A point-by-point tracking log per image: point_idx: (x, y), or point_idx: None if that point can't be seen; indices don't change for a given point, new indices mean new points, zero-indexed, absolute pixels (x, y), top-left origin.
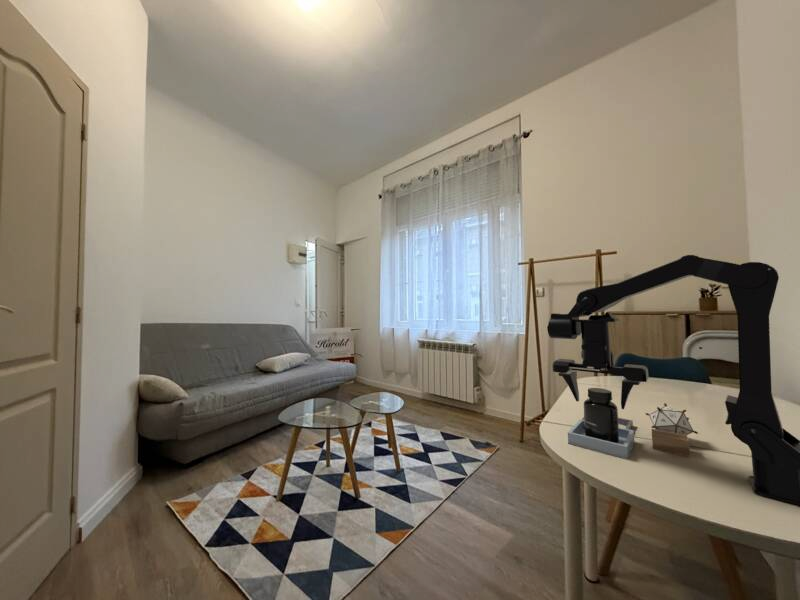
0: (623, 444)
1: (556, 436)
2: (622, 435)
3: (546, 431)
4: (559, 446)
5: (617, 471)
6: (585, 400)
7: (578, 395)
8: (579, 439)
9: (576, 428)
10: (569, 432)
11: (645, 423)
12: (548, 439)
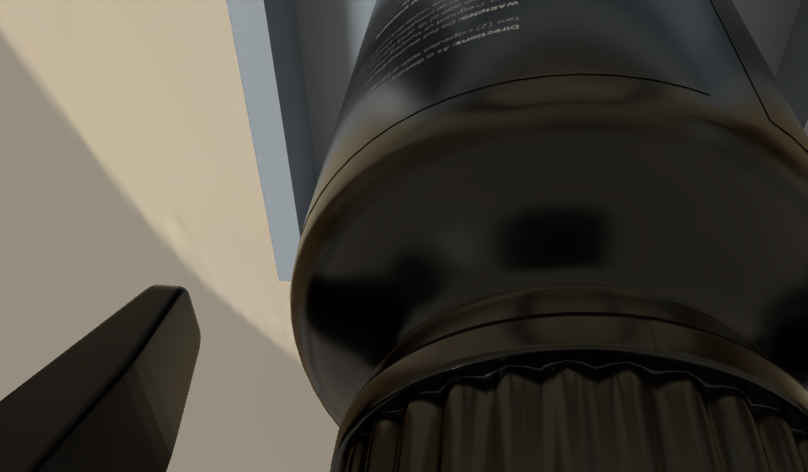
0: (755, 13)
1: (163, 128)
2: None
3: (33, 67)
4: (278, 287)
5: None
6: (319, 394)
7: (150, 390)
8: None
9: (283, 94)
10: (290, 271)
11: None
12: (158, 222)
